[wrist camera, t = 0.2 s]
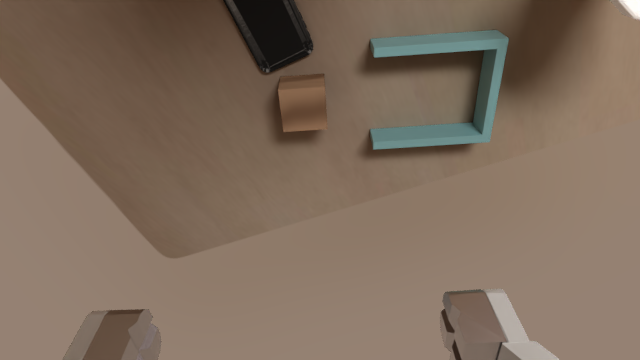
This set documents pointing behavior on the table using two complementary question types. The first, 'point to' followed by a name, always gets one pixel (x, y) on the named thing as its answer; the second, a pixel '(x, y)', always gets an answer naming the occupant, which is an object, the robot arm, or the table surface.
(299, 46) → the phone
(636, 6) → the cup
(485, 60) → the box
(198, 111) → the table surface
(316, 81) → the walnut block
